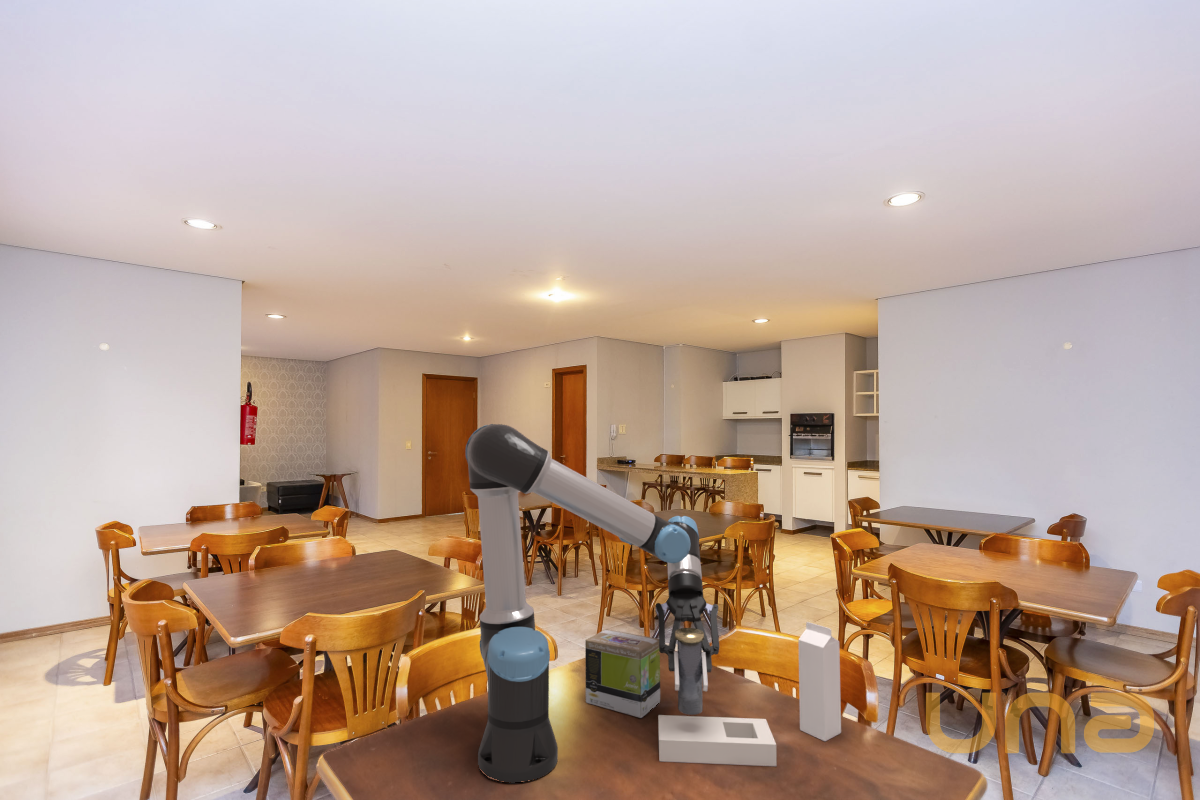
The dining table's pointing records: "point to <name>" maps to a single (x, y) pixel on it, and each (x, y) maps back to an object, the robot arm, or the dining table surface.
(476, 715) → the dining table surface
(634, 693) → the tea box
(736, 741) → the housing block
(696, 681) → the grey capped cylinder
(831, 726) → the milk
